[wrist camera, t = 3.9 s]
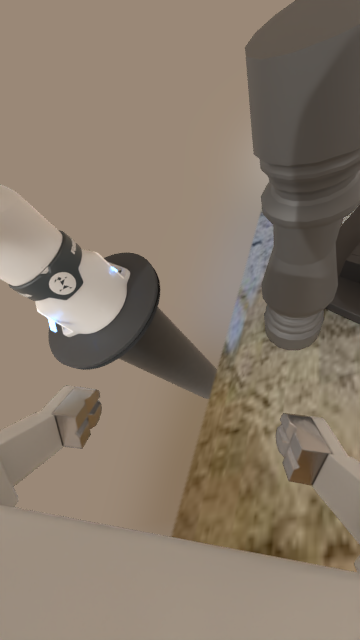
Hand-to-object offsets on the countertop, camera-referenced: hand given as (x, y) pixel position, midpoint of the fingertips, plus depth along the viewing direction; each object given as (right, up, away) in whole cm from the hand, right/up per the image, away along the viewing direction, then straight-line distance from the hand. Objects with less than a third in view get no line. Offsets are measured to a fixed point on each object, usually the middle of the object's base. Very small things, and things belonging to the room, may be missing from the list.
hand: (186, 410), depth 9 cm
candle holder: (+14, +3, +18) cm, 23 cm away
